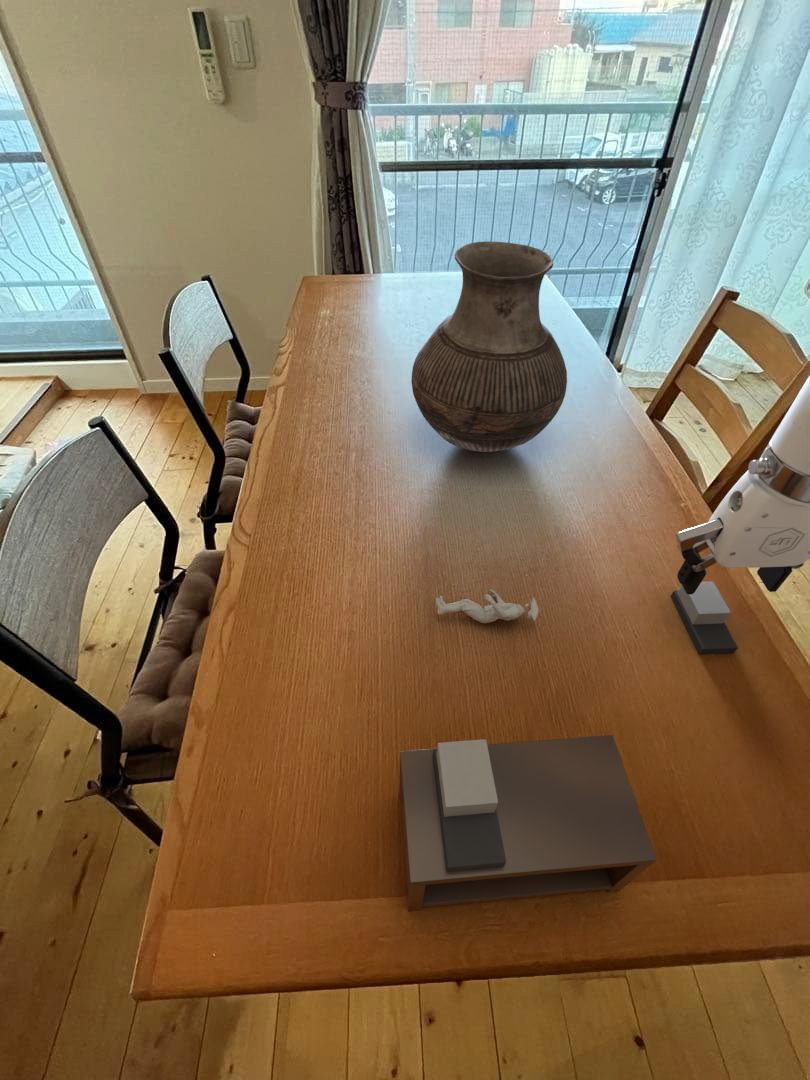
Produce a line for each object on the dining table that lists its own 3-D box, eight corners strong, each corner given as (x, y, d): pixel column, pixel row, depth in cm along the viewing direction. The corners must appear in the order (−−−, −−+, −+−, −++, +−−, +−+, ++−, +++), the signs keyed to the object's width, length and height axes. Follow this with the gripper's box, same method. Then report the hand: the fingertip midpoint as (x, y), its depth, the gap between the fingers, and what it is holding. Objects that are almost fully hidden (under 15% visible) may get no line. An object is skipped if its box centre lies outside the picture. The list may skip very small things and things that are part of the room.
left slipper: (504, 866, 42) (510, 853, 39) (446, 872, 42) (449, 859, 39) (482, 750, 48) (487, 732, 46) (432, 754, 48) (434, 736, 45)
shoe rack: (619, 891, 50) (657, 860, 42) (407, 911, 48) (410, 883, 41) (585, 777, 56) (612, 734, 49) (399, 793, 55) (399, 750, 48)
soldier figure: (442, 592, 74) (533, 577, 71) (449, 628, 74) (540, 614, 71) (431, 600, 67) (532, 582, 64) (439, 639, 66) (540, 624, 64)
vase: (435, 390, 108) (445, 219, 86) (562, 416, 102) (606, 239, 81) (389, 463, 92) (387, 275, 70) (536, 499, 86) (583, 306, 64)
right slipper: (734, 653, 67) (746, 637, 65) (698, 654, 67) (710, 638, 64) (702, 594, 73) (713, 578, 71) (670, 595, 73) (679, 579, 71)
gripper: (732, 499, 49) (664, 612, 62) (918, 494, 50) (814, 607, 63) (697, 447, 55) (641, 561, 67) (866, 444, 55) (780, 557, 68)
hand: (725, 583), depth 65 cm, fingers open, 9 cm apart
